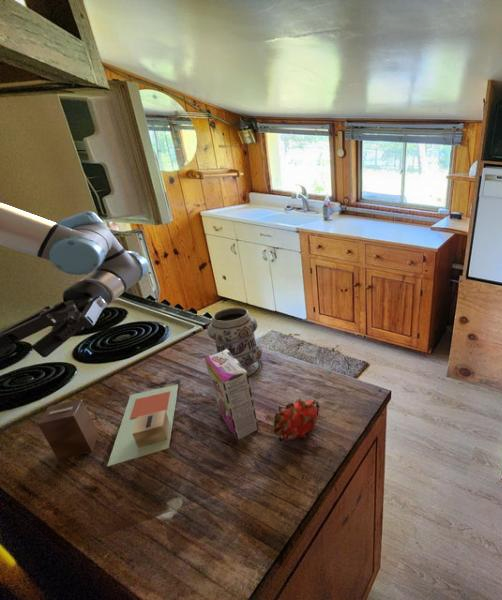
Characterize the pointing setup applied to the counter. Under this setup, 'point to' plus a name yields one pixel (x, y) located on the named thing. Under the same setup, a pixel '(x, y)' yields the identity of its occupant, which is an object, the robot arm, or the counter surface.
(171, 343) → the counter surface
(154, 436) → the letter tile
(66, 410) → the brown rectangular block
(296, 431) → the dragon fruit
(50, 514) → the counter surface
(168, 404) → the word mat
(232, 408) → the candy bar box
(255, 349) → the apothecary jar
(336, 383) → the counter surface
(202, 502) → the counter surface
